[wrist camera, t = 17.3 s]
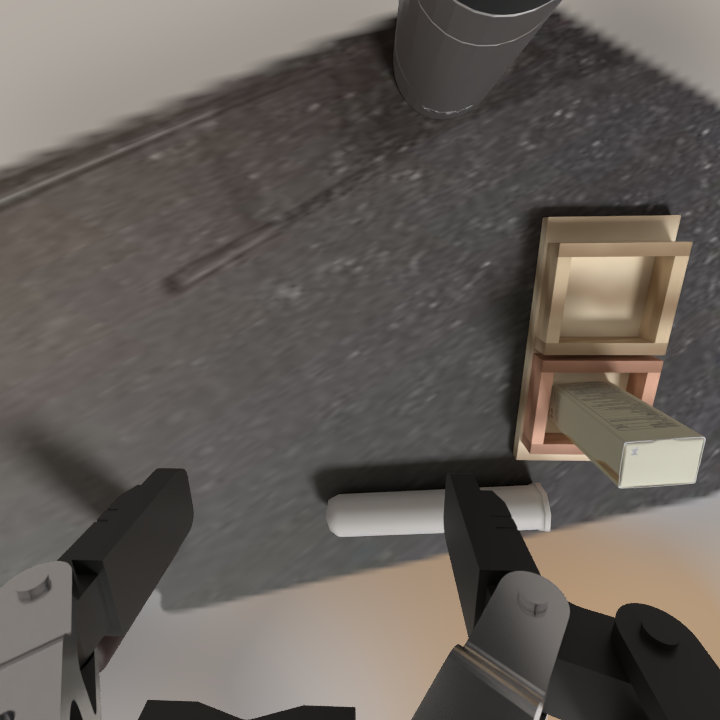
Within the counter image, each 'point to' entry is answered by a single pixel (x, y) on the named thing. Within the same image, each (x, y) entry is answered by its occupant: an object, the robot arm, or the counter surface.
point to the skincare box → (626, 435)
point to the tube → (425, 511)
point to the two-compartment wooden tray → (597, 316)
